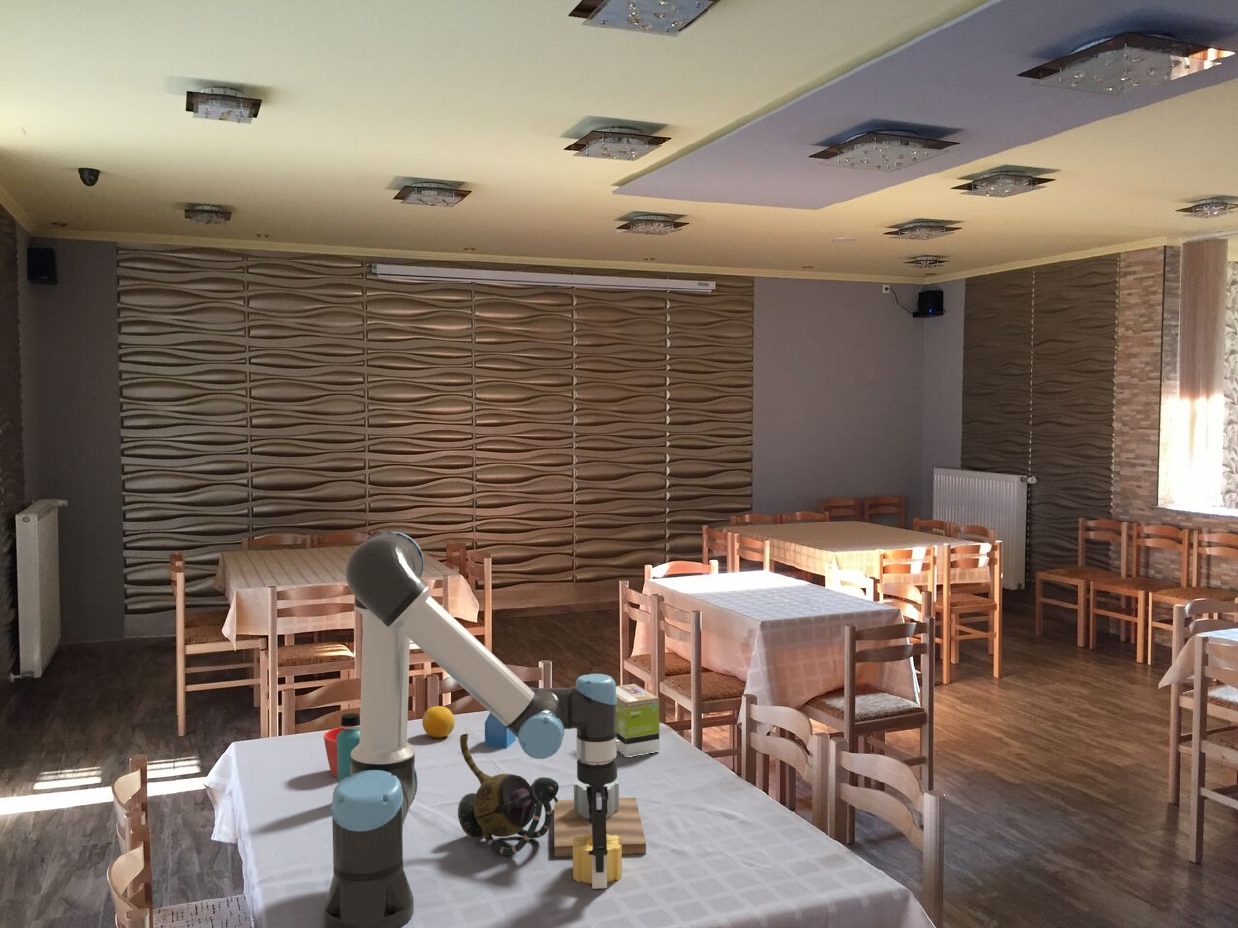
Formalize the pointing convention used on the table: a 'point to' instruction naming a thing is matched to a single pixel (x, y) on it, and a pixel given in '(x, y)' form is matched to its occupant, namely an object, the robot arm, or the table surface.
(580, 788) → the pale grey gear
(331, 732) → the flower pot
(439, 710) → the fruit
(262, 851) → the table surface
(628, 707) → the tea box
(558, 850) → the gear board
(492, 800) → the teapot
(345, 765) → the beverage bottle
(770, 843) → the table surface
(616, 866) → the ochre gear
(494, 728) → the perfume bottle
